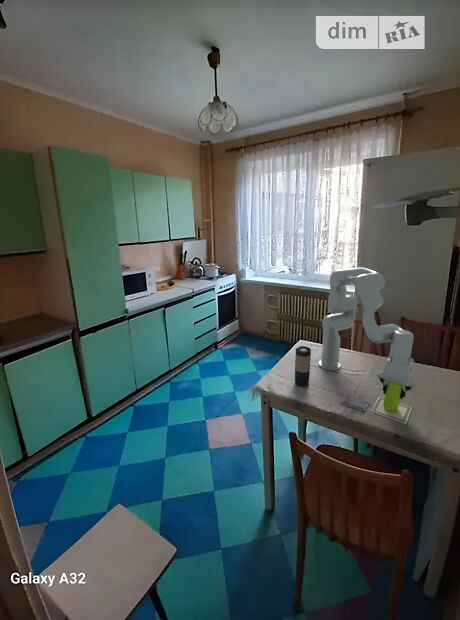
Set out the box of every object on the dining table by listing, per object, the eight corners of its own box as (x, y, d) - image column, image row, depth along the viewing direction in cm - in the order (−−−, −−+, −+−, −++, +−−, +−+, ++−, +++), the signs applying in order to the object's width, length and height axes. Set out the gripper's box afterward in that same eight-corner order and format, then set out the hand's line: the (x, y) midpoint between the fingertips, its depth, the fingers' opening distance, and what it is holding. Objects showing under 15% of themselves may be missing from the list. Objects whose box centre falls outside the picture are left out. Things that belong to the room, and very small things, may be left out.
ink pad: (347, 396, 142) (347, 393, 141) (369, 403, 135) (369, 401, 135) (341, 403, 136) (342, 401, 135) (364, 412, 130) (364, 409, 129)
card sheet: (378, 397, 140) (378, 396, 140) (412, 407, 131) (412, 407, 131) (370, 411, 130) (370, 410, 130) (406, 424, 121) (406, 423, 121)
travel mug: (309, 388, 149) (311, 352, 143) (294, 386, 151) (295, 351, 145) (308, 380, 156) (310, 346, 151) (294, 379, 158) (295, 345, 152)
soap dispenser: (394, 414, 126) (403, 374, 120) (380, 404, 132) (388, 366, 125) (402, 409, 129) (412, 370, 122) (388, 401, 135) (397, 363, 128)
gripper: (424, 360, 121) (417, 398, 126) (379, 350, 131) (374, 385, 137) (421, 368, 115) (414, 406, 121) (375, 356, 126) (370, 392, 131)
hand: (393, 394), depth 129 cm, fingers closed on soap dispenser, 6 cm apart
